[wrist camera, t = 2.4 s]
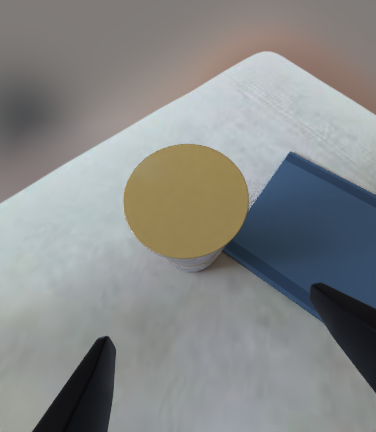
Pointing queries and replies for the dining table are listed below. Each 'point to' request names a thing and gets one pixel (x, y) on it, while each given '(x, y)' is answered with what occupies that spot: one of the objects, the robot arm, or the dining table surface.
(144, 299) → the dining table surface
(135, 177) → the jam jar
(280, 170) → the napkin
